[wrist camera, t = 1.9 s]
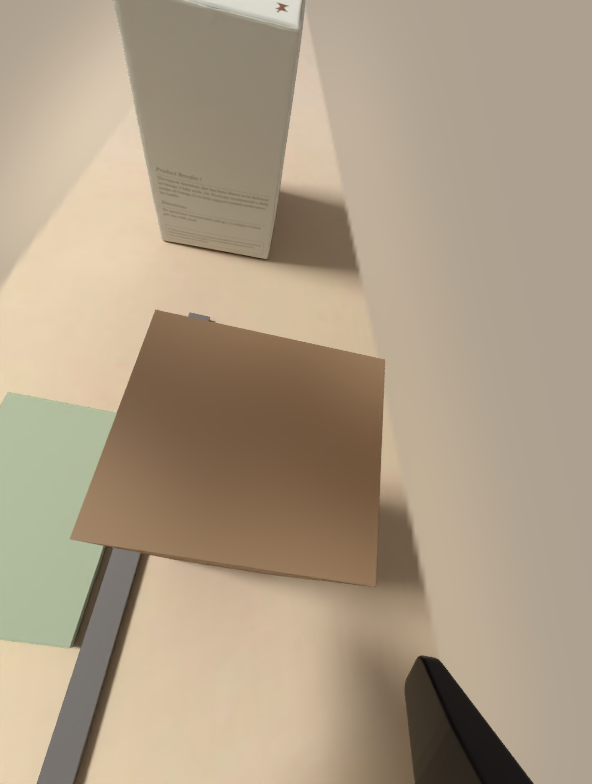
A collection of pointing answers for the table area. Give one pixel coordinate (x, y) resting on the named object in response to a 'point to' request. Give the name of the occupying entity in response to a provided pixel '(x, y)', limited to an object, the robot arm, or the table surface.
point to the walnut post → (243, 455)
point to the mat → (46, 516)
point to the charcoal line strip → (91, 667)
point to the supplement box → (213, 113)
